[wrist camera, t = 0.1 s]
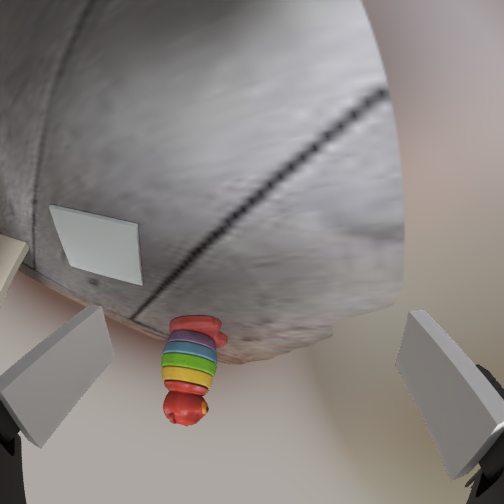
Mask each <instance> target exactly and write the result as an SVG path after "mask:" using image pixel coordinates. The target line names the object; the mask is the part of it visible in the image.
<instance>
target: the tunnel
mask: <svg viewBox="0 0 504 504" xmlns="http://www.w3.org/2000/svg"><path fill="white" fill-rule="evenodd" d="M28 250H29V247H28V245H27V243H26V242H23V241H20V240H17V239H14V238H11V237H8V236H5V235H2V234H0V307H1V304H2V302H3V300H4V298H5V296H6V293H7V291H8V289H9V287H10V285H11V282H12V280H13V278H14V276H15V274H16V272H17V270H18V269H19V267H20V265H21V263H22V261H23V259H24V257H25V256H26V254H27V252H28Z"/></svg>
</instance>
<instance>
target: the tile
mask: <svg viewBox="0 0 504 504" xmlns="http://www.w3.org/2000/svg"><path fill="white" fill-rule="evenodd" d="M49 209H50V212H51V215H52V218H53V221H54V224H55V227H56V230H57V232H58V235H59V238H60V241H61V243H62V246H63V248H64V251H65V254H66V256H67V258H68V261H69V263H70V266H72V267H76V268H79V269H82V270H86V271H89V272H93V273H96V274H100V275H104V276H107V277H111V278H115V279H118V280H122V281H126V282H130V283H134V284H138V285H142V284H143V278H142V268H141V258H140V245H139V231H138V224H136V223H132V222H127V221H123V220H118V219H114V218H109V217H105V216H101V215H96V214H92V213H87V212H83V211H78V210H74V209H69V208H65V207H60V206H56V205H50V207H49Z"/></svg>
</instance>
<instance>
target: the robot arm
mask: <svg viewBox="0 0 504 504" xmlns="http://www.w3.org/2000/svg"><path fill="white" fill-rule="evenodd" d="M114 358H115V353H114V350H113V346H112V343H111V340H110V336H109V333H108V329H107V325H106V322H105V318H104V314H103V310H102V306H94V305H89V306H87V307H86V308H85V309H83V310H82V311H81V312H79V313H78V314H77V315H75V316H74V317H73V318H72V319H70V320H69V321H68V322H66V323H65V324H63V325H62V326H61V327H60V328H58V329H57V330H56V331H54V332H53V333H52V334H51V335H49V336H48V337H47V338H46V339H44V340H43V341H42V342H41V343H39V344H38V345H37V346H35V347H34V348H33V349H32V350H31V351H29V352H28V353H27V354H26V355H25V356H23V357H22V358H21V359H20V360H18V361H17V362H16V363H15V364H14V365H12V366H11V367H10V368H9V369H8V370H7V371H5V372H4V373H3V374H2V375H1V376H0V504H26V498H25V491H24V483H23V472H22V457H21V438H20V436H19V435H18V432H19V431H20V430H21V431H22V433H23V434H24V435H25V437H26V438H27V439H28V441H30V442H31V443H33V444H34V445H36V446H38V447H39V448H42V447H43V445H44V444H45V443H46V441H47V440H48V439H49V437H50V436H51V435H52V434H53V432H54V431H55V430H56V428H57V427H58V426H59V425H60V423H61V422H62V421H63V420H64V418H65V417H66V416H67V415H68V413H69V412H70V411H71V410H72V408H73V407H74V406H75V405H76V403H77V402H78V401H79V400H80V398H81V397H82V396H83V395H84V393H85V392H86V391H87V390H88V389H89V388H90V386H91V385H92V384H93V383H94V382H95V380H96V379H97V378H98V377H99V376H100V374H101V373H102V372H103V371H104V370H105V368H106V367H107V366H108V365H109V364H110V363H111V361H112V360H113V359H114ZM395 366H396V367H397V369H398V371H399V373H400V375H401V377H402V379H403V380H404V382H405V384H406V386H407V388H408V390H409V392H410V393H411V396H412V398H413V399H414V402H415V404H416V406H417V408H418V410H419V412H420V414H421V416H422V418H423V420H424V422H425V423H426V426H427V428H428V430H429V432H430V434H431V437H432V439H433V441H434V443H435V445H436V448H437V450H438V452H439V454H440V457H441V459H442V461H443V464H444V466H445V469H446V471H447V473H448V476H449V478H450V481H453V480H455V479H457V478H459V477H462V476H464V475H466V474H468V473H469V472H470V471H471V470H472V469H473V468H474V467H475V466H476V465H477V464H478V462H479V465H480V466H481V469H480V470H479V471H478V472H477V473H476V474H475V475H474V476H473V477H472V478H471V479H470V480H469V481H468V482H467V483H466V485H465V487H468V486H469V485H470V484H471V483H472V482H473V481H474V480H475V481H474V484H473V486H472V487H471V488H472V490H471V493H470V495H469V499H468V501H467V503H466V504H504V389H503V388H501V385H500V384H499V383H498V381H496V379H495V378H494V377H493V376H492V374H491V373H490V372H489V371H488V370H486V369H485V368H483V367H482V366H480V365H478V364H477V365H475V364H474V363H473V362H472V361H471V360H470V359H469V358H468V356H467V355H466V354H465V353H464V352H463V351H462V350H461V348H460V347H459V346H458V345H457V344H456V343H455V342H454V341H453V340H452V339H451V338H450V336H449V335H448V334H447V333H446V332H445V331H444V330H443V329H442V328H441V327H440V326H439V325H438V324H437V323H436V322H435V321H434V320H433V319H432V318H431V317H430V316H429V315H428V314H427V313H426V312H425V311H424V310H416V311H409V313H408V317H407V322H406V326H405V330H404V334H403V338H402V343H401V346H400V350H399V353H398V357H397V361H396V364H395Z"/></svg>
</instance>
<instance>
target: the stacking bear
mask: <svg viewBox="0 0 504 504" xmlns="http://www.w3.org/2000/svg"><path fill="white" fill-rule="evenodd" d="M220 328H221V322H220V320H218V319H216V318H214V317H210V316H184V317H179V318H176V319H174V320H172V321H171V322H170V332H171V334H170V336H169V338H168V341H167V344H166V345H165V348H164V350H163V356H162V363H161V365H162V379H163V381H164V384H165V386H166V388H167V389H168V390H169V393H168V394H167V396H166V398H165V400H164V404H163V410H164V413H165V415H166V417H167V418H168V419H169V420H170V421H171V422H172V423H174V424H175V423H177V424H182V425H185V426H188V425H193V424H196V423H197V422H198V421H199V420H200V419H201V418H202V417H203V416H205V415H206V414H207V413H208V409H209V408H208V405H207V403H206V401H205V400H204V398H203V397H202V396H204V395H205V394H206V393H207V392H208V391H209V390H208V389H209V388H210V386H211V384H212V381H213V377H214V375H215V372H216V368H217V366H216V365H217V354H216V347H222V346H224V345H226V343H227V336H226V335H224V334H222V333H221V332H219V330H220Z"/></svg>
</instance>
